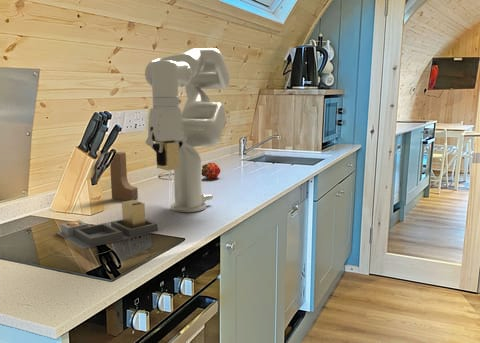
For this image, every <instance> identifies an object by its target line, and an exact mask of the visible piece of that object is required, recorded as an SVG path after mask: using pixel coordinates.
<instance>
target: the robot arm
mask: <svg viewBox="0 0 480 343" xmlns="http://www.w3.org/2000/svg"><path fill="white" fill-rule="evenodd" d="M144 77H145V81H146V82H147V83H148V84H149V86H151V89H152V90H151V91H152V94H151V95H152V108H151V107H150V109H149V113H148V126H147V127H148V129H147V139H146V141H145V144H146V145H148V146H149V147H151V148H152V149H153V150H154V152H155V154H156V158H155V159H156V165H157V164H158V165H160V166H164V165H165V158H164V153H163V145H164V142H171V141H172V142H178V151H179V169H174V170H173V184H174V186H173V187H174V190H173V191H174V202H173V203H171V204H170V206H169V208H170V210H171V211H174V212H177V213H195V212H200V211H203V210H205V209H207V204H206V203H205V202H206V201H210V200H213V197H214V196H213V194H211V193H210V194H205V193H202V190H203V189H202V174H201V173H202V171H201V170H202V160H201V155H200V154H199V152H198V151H197V149H196V148H195V147H202V148H203V147H206V148H207V147H208V148H209V147H215V146H217V145H218V144H219V142H220V141H221V138H222V134H223V130H224V127H225V124H226V118H227V115H226V114H227V113H226V108H225V106H224V105H223V103H221V102H218V101H211V100H210V97H209V96H208V95H207V94H206V92H205V91H204V90H222V89H224V90H225V88H227V87H228V86H229V83H230V73H229V69H228V67H227V63H226V61H225V57H224V56H223V54H222V53H221V51H220V50H219V49H217V48H213V47H210V48H209V47H207V48H205V47H204V48H190V49H188V50H186V51H184V52H182V53H179V54H173V55H169V56H164V57H160V58H156V59H153V60H151V61H150V62H148V63H147V65H146V67H145V72H144ZM179 87H184V89H185V94H186V97H187V99H186V102H185V104H184V107H183V110H181V107H179V106H180V104H181V103H182V99H180V98H179Z"/></svg>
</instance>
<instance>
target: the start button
mask: <svg viewBox="0 0 480 343" xmlns="http://www.w3.org/2000/svg"><path fill="white" fill-rule="evenodd" d="M70 222H71V223H69V226H75V225H79V222H73V221H70Z"/></svg>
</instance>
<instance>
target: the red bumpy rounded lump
mask: <svg viewBox="0 0 480 343" xmlns="http://www.w3.org/2000/svg"><path fill="white" fill-rule="evenodd" d="M220 174H221V168H220V166H219V165H218V164H216V163H215V162H208V163H205V164H203V165H201V176H202V177H205V178H206V180H209V179H210V180H212V179H218V177H219V175H220Z"/></svg>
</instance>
